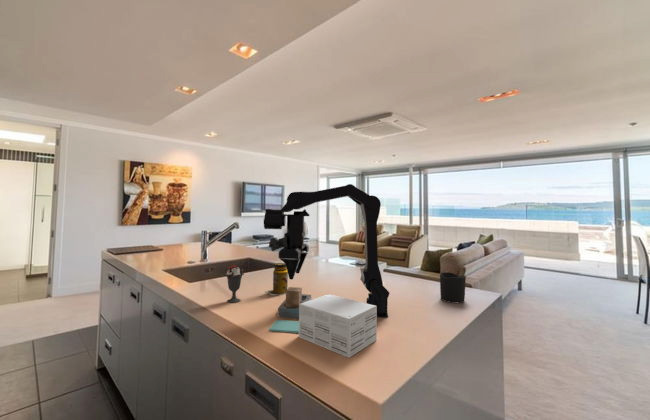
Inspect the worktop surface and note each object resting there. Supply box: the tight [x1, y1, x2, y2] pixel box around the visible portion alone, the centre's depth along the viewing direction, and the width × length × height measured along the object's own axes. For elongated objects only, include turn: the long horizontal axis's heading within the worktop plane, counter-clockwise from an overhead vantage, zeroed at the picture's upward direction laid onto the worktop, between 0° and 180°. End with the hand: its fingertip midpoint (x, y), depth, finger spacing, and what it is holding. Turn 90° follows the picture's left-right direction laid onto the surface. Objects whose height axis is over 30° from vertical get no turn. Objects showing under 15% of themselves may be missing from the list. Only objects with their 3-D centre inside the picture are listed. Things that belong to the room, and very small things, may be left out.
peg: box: [285, 286, 303, 307], centre depth 92 cm, size 4×4×8 cm
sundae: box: [224, 260, 245, 304], centre depth 104 cm, size 7×7×15 cm
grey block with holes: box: [277, 293, 312, 320], centre depth 96 cm, size 8×16×3 cm, turn 173°
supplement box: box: [298, 293, 378, 359], centre depth 74 cm, size 17×13×9 cm
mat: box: [268, 319, 299, 334], centre depth 81 cm, size 9×7×1 cm
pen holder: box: [439, 271, 467, 303], centre depth 110 cm, size 9×9×10 cm
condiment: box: [265, 262, 289, 297], centre depth 116 cm, size 7×8×12 cm
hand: (294, 276), depth 92 cm, fingers open, 9 cm apart
